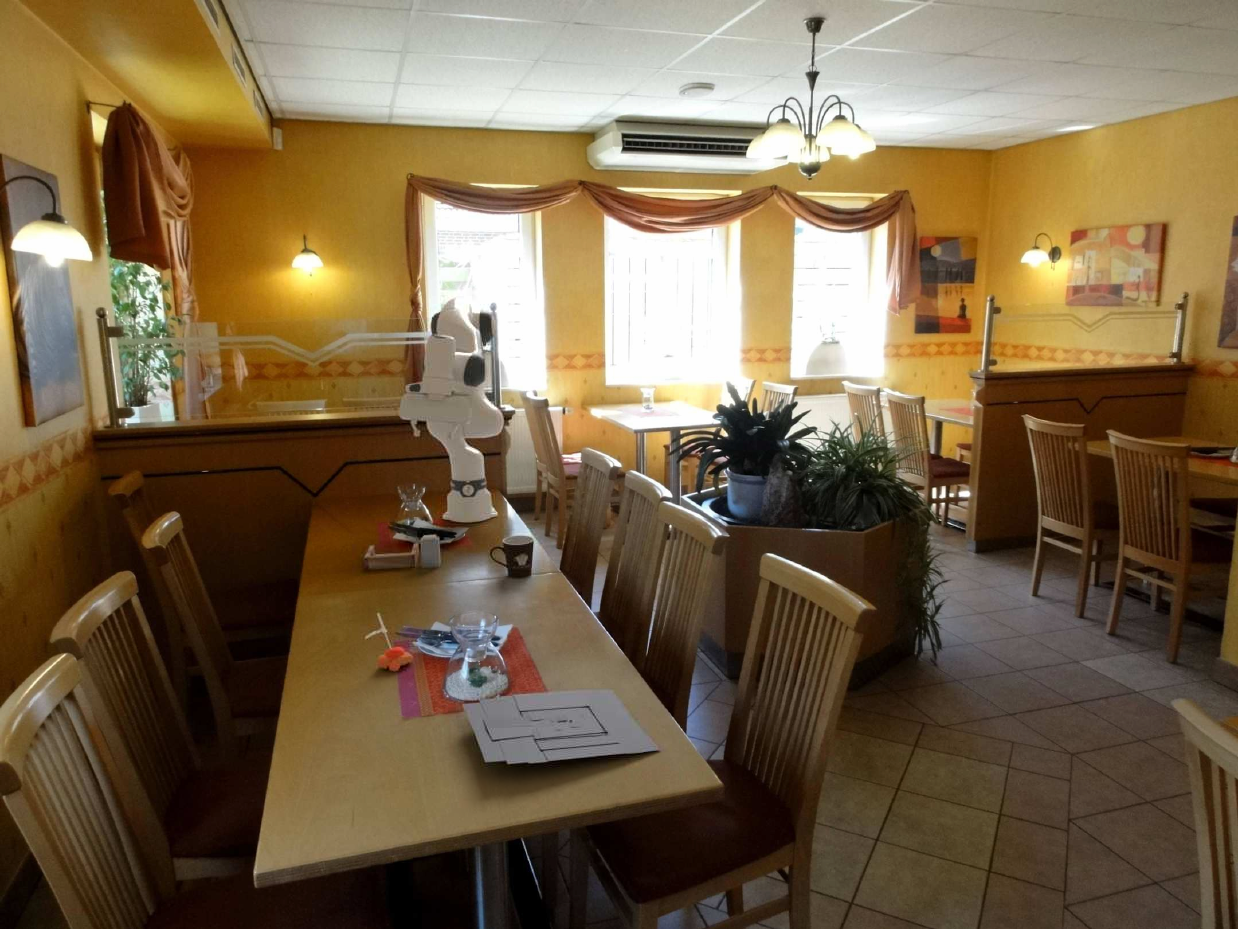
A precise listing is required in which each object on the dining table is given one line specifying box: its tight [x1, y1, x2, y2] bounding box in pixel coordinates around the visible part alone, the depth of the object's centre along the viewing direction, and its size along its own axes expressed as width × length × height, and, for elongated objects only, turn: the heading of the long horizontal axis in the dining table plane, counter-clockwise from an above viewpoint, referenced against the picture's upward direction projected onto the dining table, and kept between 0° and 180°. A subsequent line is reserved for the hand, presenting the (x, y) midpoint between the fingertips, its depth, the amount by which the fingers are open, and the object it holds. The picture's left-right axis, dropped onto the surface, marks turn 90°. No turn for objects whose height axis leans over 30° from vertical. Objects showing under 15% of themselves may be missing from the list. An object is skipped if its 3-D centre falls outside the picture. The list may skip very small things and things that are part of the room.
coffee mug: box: [489, 534, 535, 579], centre depth 232 cm, size 12×9×10 cm
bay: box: [363, 542, 420, 571], centre depth 245 cm, size 12×14×4 cm
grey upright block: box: [419, 534, 442, 569], centre depth 240 cm, size 4×5×9 cm
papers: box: [461, 688, 661, 765], centre depth 149 cm, size 24×30×4 cm
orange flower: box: [364, 612, 414, 672], centre depth 176 cm, size 6×10×12 cm, turn 116°
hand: (433, 437), depth 241 cm, fingers open, 8 cm apart
